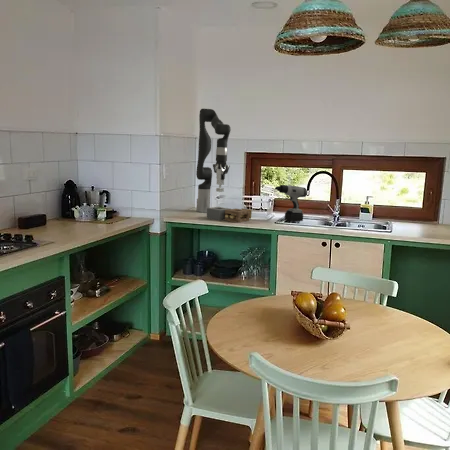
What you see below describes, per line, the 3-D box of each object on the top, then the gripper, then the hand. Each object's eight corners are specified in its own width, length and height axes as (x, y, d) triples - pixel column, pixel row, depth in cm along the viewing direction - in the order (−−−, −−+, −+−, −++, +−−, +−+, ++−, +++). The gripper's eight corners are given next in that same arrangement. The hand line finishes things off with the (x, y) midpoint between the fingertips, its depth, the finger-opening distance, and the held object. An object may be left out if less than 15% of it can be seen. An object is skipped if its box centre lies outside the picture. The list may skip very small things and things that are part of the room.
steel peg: (216, 191, 329) (217, 169, 327) (219, 191, 332) (220, 169, 329) (220, 191, 327) (221, 169, 324) (223, 191, 330) (224, 169, 327)
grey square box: (206, 218, 332) (206, 208, 331) (218, 216, 341) (218, 206, 340) (219, 220, 324) (219, 210, 323) (231, 218, 333) (231, 208, 332)
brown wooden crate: (242, 216, 338) (242, 208, 337) (251, 218, 333) (251, 209, 332) (224, 219, 323) (224, 210, 322) (233, 221, 318) (233, 212, 317)
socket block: (235, 218, 336) (236, 208, 335) (249, 220, 328) (249, 210, 327) (224, 220, 327) (224, 209, 326) (238, 222, 319) (238, 212, 318)
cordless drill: (271, 219, 336) (273, 184, 332) (300, 218, 346) (302, 184, 342) (276, 221, 329) (279, 185, 325) (306, 220, 340) (309, 185, 335)
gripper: (233, 154, 323) (231, 180, 327) (217, 153, 333) (216, 178, 336) (225, 154, 318) (224, 180, 321) (210, 153, 327) (209, 178, 330)
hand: (220, 179), depth 328 cm, fingers closed on steel peg, 3 cm apart
